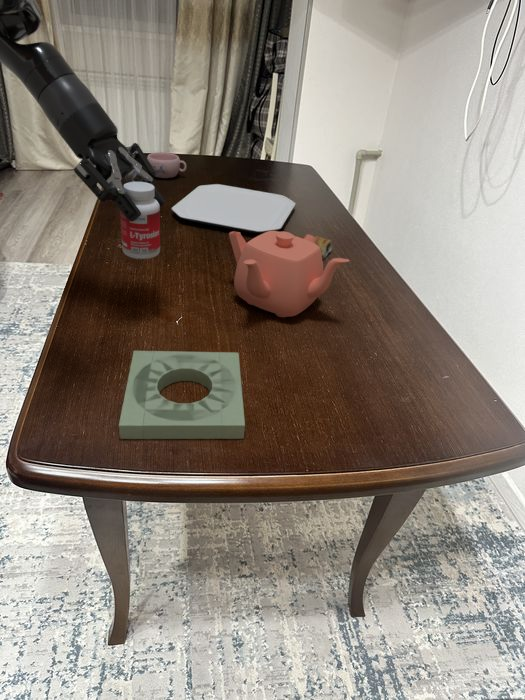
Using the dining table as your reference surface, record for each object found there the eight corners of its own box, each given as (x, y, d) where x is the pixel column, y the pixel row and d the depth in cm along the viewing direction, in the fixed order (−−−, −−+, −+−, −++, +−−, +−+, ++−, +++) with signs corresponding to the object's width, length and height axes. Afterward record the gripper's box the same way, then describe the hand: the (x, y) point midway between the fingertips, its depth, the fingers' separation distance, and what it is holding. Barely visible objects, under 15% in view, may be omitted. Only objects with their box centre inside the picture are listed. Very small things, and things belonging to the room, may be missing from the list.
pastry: (286, 251, 115) (288, 235, 113) (296, 241, 120) (298, 226, 118) (324, 261, 112) (326, 245, 110) (332, 251, 117) (335, 236, 115)
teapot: (336, 325, 90) (351, 256, 82) (238, 329, 86) (244, 257, 78) (308, 278, 105) (319, 215, 97) (223, 280, 101) (226, 214, 92)
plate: (298, 205, 142) (299, 197, 140) (275, 242, 118) (276, 233, 117) (203, 188, 146) (203, 181, 144) (164, 221, 123) (163, 212, 121)
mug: (144, 179, 148) (143, 159, 144) (150, 170, 156) (150, 150, 152) (184, 183, 148) (184, 163, 145) (188, 173, 156) (188, 154, 153)
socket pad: (120, 439, 63) (118, 425, 62) (134, 363, 76) (133, 350, 74) (243, 438, 65) (245, 425, 64) (237, 365, 78) (238, 352, 76)
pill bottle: (128, 262, 78) (124, 193, 72) (118, 246, 83) (113, 180, 76) (165, 257, 81) (165, 191, 75) (153, 243, 85) (152, 178, 79)
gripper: (56, 106, 66) (136, 212, 69) (121, 96, 77) (186, 187, 81) (31, 141, 70) (108, 238, 74) (96, 126, 81) (159, 211, 85)
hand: (149, 211), depth 77 cm, fingers closed on pill bottle, 6 cm apart
